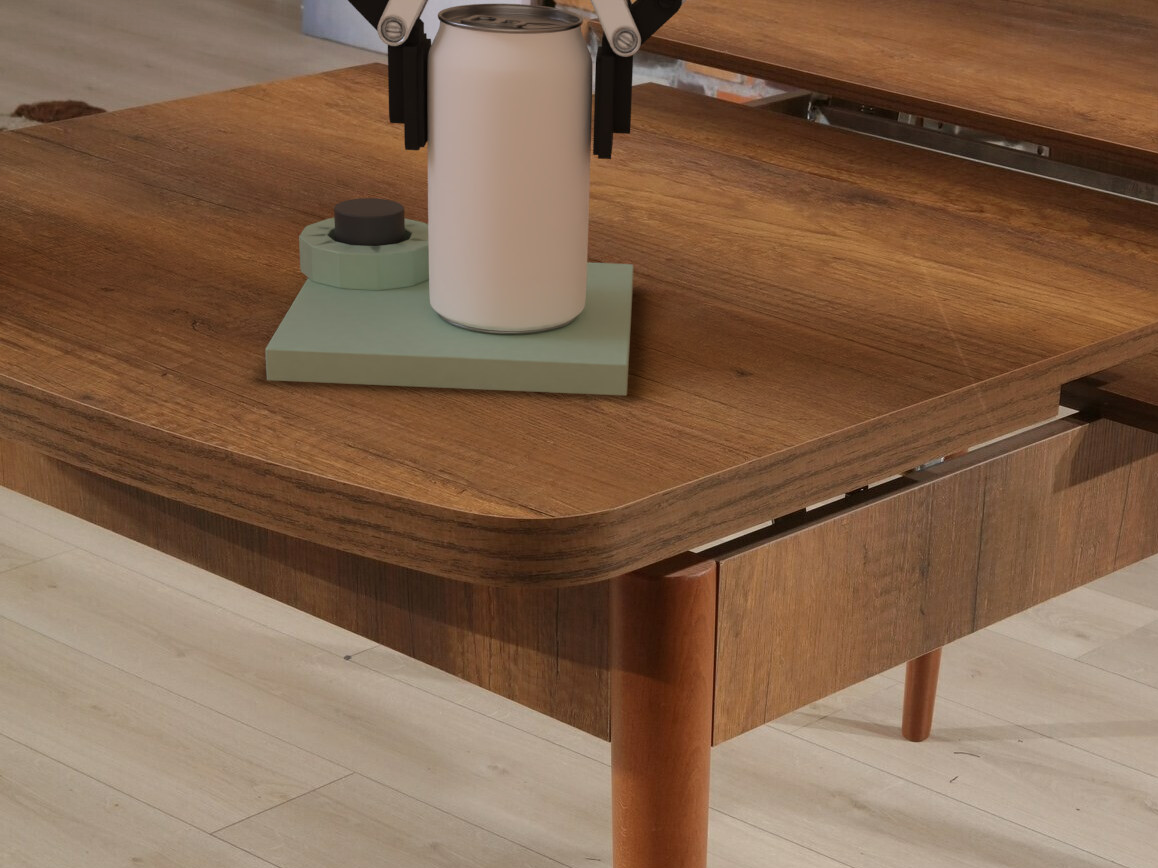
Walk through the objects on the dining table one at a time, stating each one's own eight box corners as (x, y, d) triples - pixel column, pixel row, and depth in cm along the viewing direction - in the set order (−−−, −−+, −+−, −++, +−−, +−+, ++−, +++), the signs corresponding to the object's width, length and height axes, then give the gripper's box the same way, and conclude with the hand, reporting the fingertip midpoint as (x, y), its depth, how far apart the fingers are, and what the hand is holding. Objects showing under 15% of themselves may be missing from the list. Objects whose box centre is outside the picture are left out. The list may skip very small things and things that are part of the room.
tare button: (329, 250, 76) (328, 215, 75) (341, 230, 79) (340, 196, 78) (399, 253, 76) (399, 218, 75) (409, 233, 79) (408, 199, 78)
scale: (254, 381, 69) (250, 308, 68) (316, 276, 81) (314, 212, 80) (626, 397, 69) (629, 324, 68) (632, 290, 81) (635, 226, 80)
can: (550, 347, 70) (556, 37, 65) (401, 323, 72) (396, 19, 67) (608, 300, 76) (618, 12, 71) (469, 279, 77) (469, -4, 72)
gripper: (754, -337, 67) (726, 135, 74) (291, -361, 66) (309, 116, 74) (764, -340, 60) (732, 180, 67) (248, -366, 60) (273, 160, 67)
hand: (511, 143), depth 71 cm, fingers open, 6 cm apart
